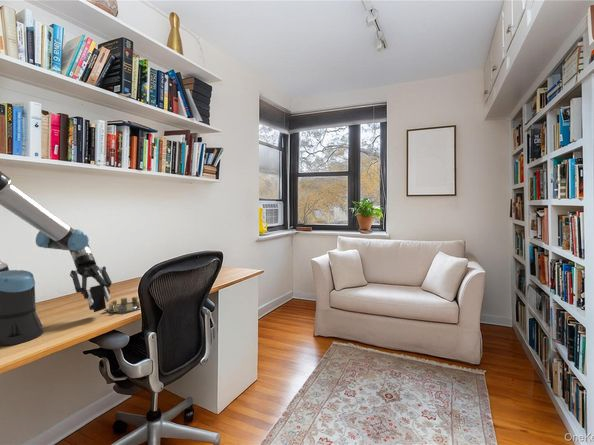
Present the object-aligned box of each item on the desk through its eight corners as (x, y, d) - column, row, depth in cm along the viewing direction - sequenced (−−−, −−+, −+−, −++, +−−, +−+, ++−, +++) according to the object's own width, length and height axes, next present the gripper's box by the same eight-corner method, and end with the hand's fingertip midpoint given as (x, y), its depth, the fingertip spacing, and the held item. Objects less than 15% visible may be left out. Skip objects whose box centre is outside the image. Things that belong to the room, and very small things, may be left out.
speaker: (109, 308, 136) (106, 283, 136) (94, 312, 132) (90, 287, 132) (102, 306, 141) (99, 283, 141) (87, 310, 137) (84, 286, 137)
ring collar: (99, 313, 142) (99, 306, 142) (122, 302, 157) (122, 296, 156) (131, 314, 140) (131, 306, 140) (151, 303, 155) (151, 297, 155)
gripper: (104, 262, 153) (121, 302, 144) (56, 267, 138) (71, 312, 129) (108, 251, 150) (126, 292, 140) (60, 256, 135) (76, 301, 125)
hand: (100, 302), depth 135 cm, fingers closed on speaker, 6 cm apart
